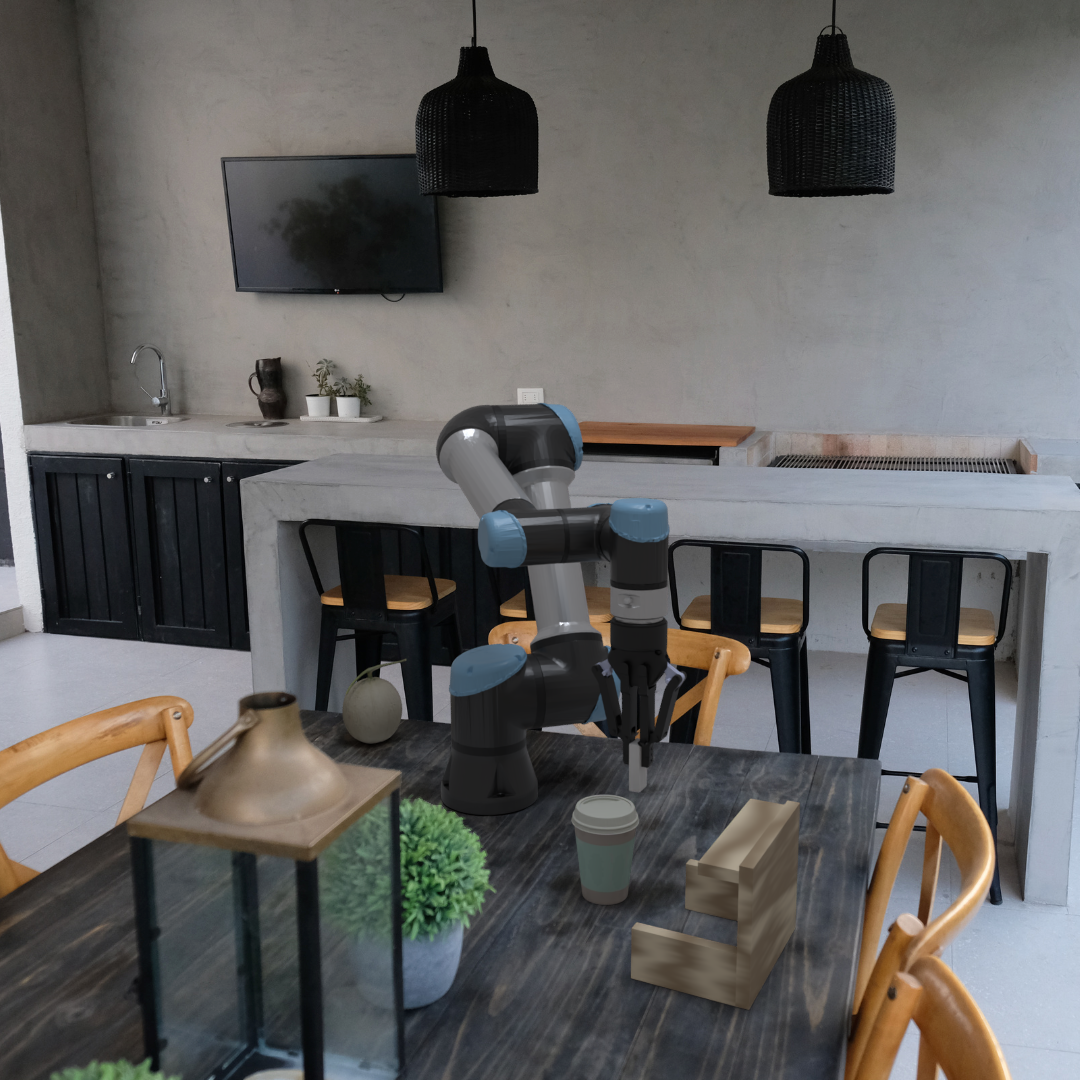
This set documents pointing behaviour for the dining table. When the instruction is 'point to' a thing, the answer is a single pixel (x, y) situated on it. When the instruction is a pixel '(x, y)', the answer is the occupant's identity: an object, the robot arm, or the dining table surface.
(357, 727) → the fruit
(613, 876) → the coffee cup
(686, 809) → the dining table surface
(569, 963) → the dining table surface
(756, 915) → the nook
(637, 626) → the robot arm
